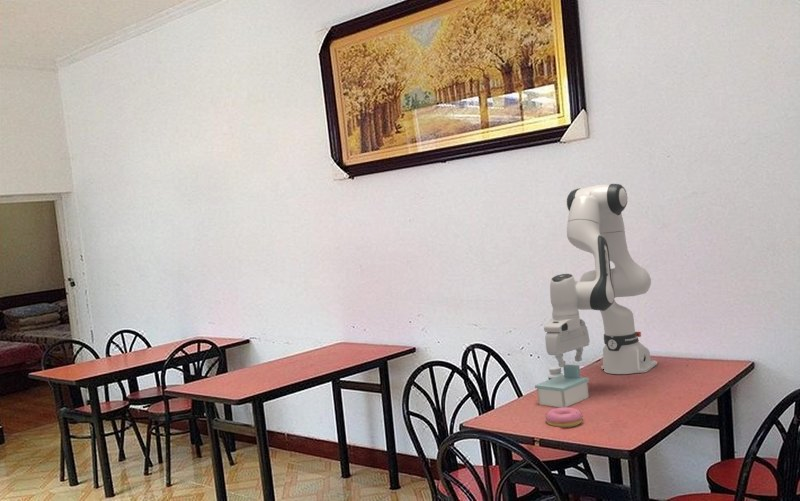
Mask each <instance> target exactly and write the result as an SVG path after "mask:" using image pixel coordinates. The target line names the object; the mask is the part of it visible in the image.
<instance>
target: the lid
mask: <svg viewBox="0 0 800 501" xmlns="http://www.w3.org/2000/svg"><path fill="white" fill-rule="evenodd" d="M562 368H563V375H560V376H558V377H555V378H552V379H550V380H549V379H548V380H545V381H543V382H540V383H537V384H535V385H534V388H535V389H545V390H553V391H562V392H564V391H566V390H568V389H571V388H573V387H576V386H578V385H580V384H583V383H585V382H587V383H589V382H590V377H585V376H584V377H583V376H581V368H580V365H579V364H577V365H576V364H566V366H564V367H562Z"/></svg>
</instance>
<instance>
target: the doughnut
mask: <svg viewBox="0 0 800 501" xmlns="http://www.w3.org/2000/svg"><path fill="white" fill-rule="evenodd" d="M544 416H545V420H546V423H547V424H548V425H549V426H554V427H558V428H560V429H565V428H566V429H567V427H568V428H572V427H576V426H579V425H580V424H581V423H582V421H583V417H584V416H583V413H582V411H580V409H578V408H575V407H570V406H568V407H562V408H561V407H556V408H552V409H550V410H548V411H547V412H546V413H545V415H544Z"/></svg>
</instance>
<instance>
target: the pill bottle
mask: <svg viewBox="0 0 800 501" xmlns="http://www.w3.org/2000/svg"><path fill="white" fill-rule="evenodd" d="M548 371H549V374H548V375H547V378H548V380H550V379H552V378H555V377H558V376H560V375H564V373H562V367H559V366H552V367H549V368H548Z"/></svg>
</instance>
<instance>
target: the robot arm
mask: <svg viewBox="0 0 800 501" xmlns="http://www.w3.org/2000/svg"><path fill="white" fill-rule="evenodd" d="M627 204H628V193H627V190H626V188H625V187H624V186H623V185H622V184H619V183H610V184H595V185H592V186H587V187H582V188H576V189H573V190H571V191H570V192H569V194H568V195H567V198H566V207H567V210H568V217H567V218H568V219H567V226H566V237H567V240H568V242H569V243H570V244H571V245H572V246H574V247H575V248H577V249H578V250H581V251H584V252H586V253H587V252H588V253H589V254H592V255H593V257H594V266H595V269H594V270H590V271H587V272H584V273H583V274H582V275H581V277H580V279H579V281H578V280H576V279H575V277H574V275H573V274H571V273H562V274H556V275H554V276H553V277H552V278H550V279H551V280H550V285H549V287H550V288H549V293H550V294H549V295H550V304H551V307H552V312H551V317H552V318H551V319H550V320H549V321H548V322H547V323H546V324H545V325H544V326H543V331H544V332H545V338H544V339H545V341H544V342H545V349H546V353H547V354H548V355H549V356H555V359H556V360H557V362H558V367H561V368H563V367H564V366H566V365H567V364H566V361H565V360H564V354H566V353H569V352H573V351H576V352H575V353H576V354H575V355H574V361H575V362H577V363H579V362H582V360H583V358H582V356H583V352H584V348H585V347H587V346H589V345H590V336H589V329H588V326H587V325H586V322H585V321H584V320H583V319H582V318H580V311H579V310H581V311H582V310H583V311H584V310H585V311H586V310H591V311H599V312H600V315H601V318H602V323H603V330H604V334H603V343H604V344H605V345H604V347H603V348H602V365H600V369H601V370H603V369H604V370H603V372H605V373H606V374H612V375H630V374H639V373H641V374H643V373H647V372H648V371H650V370H651V369H653V368H654V367H656V366H657V365H658V361H656V360H653V359H651V354H650V351H649V348H647V347H646V346H645V345H643V344H642V343H641V342H639V341H640V340H639V338H641V337H642V332H641V331H636V329H635V319H634V317H635V316H634V313H633V312H632V311H631V309H629V308H627V307H626V306H623V305H622V304H621V305H620V304H619V303H618V302H616V300H615V298H625V297H636V296H640V295H641V296H642V295H644V294H647V292H648V291H650V290H649V289H650V288H651V285H652V278H651V276H650V274H649V272H648V271H647V269H645V268H643V266H640V265H639V264H638V263H637V262H635V260H634V259H633V258H632V256H631V255H630V251H629V249H628V244H627V238H626V230H625V223H624V218H623V214H622V212H623V211H624V210H625V208H626V207H627ZM611 262H612V263H613V264H614V266H615V267H613V268H611Z"/></svg>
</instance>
